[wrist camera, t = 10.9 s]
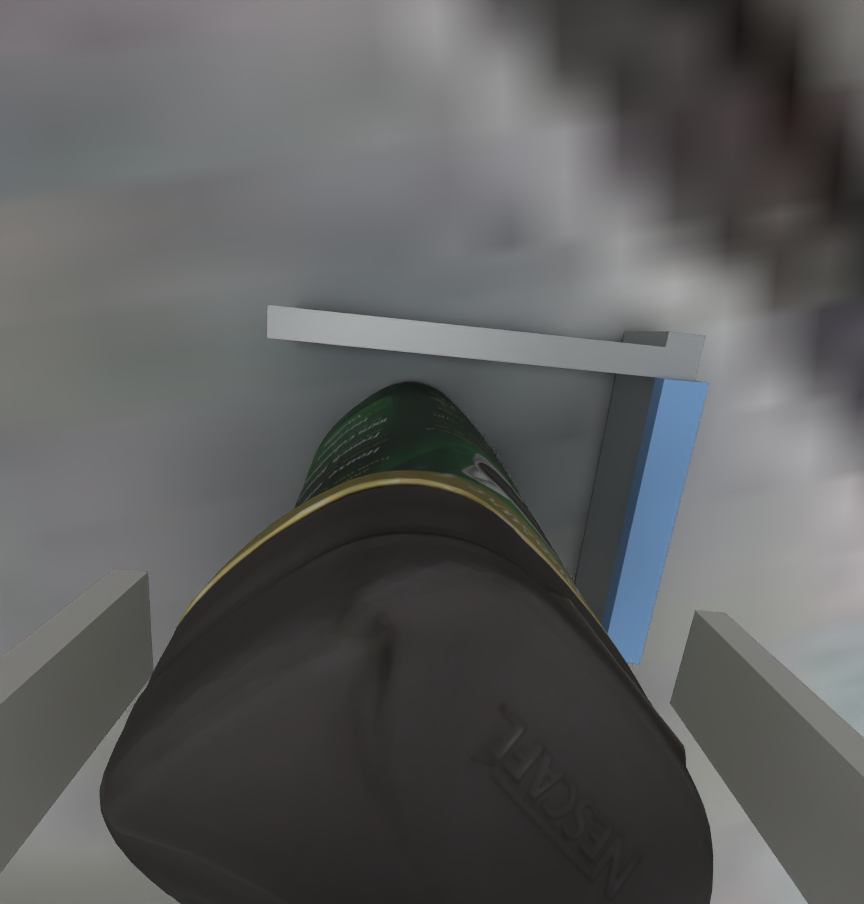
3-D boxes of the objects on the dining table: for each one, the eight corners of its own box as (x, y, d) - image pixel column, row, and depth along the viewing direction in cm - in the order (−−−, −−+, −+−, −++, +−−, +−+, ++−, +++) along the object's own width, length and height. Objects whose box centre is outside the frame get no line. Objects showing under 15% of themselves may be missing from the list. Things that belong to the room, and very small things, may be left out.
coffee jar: (294, 454, 23) (-140, 891, 5) (420, 354, 22) (445, 452, 4) (414, 590, 25) (415, 1240, 7) (534, 504, 24) (886, 1009, 6)
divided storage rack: (280, 812, 29) (255, 903, 24) (294, 296, 21) (261, 286, 17) (558, 824, 30) (584, 913, 25) (665, 336, 22) (729, 337, 18)
